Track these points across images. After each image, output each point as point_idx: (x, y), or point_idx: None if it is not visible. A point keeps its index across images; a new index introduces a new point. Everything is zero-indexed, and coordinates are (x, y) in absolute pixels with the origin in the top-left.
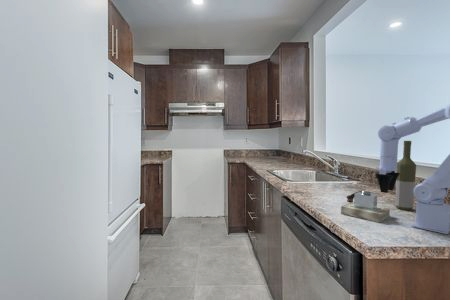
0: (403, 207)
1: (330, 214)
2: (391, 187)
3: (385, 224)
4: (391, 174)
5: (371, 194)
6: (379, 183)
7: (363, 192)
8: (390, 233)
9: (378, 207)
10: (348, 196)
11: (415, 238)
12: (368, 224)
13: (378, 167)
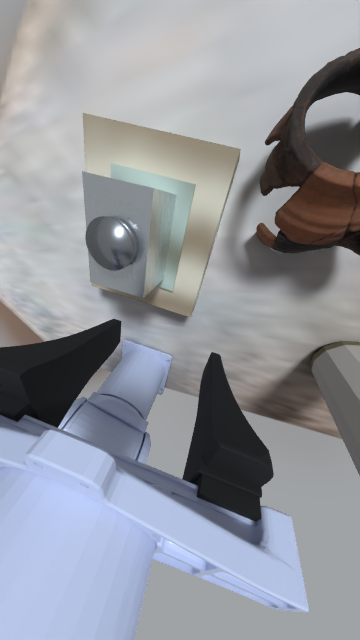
0: (313, 360)
1: (59, 79)
2: (203, 378)
3: (100, 289)
4: (193, 463)
5: (133, 271)
6: (72, 336)
7: (88, 231)
8: (48, 294)
9: (168, 283)
10: (310, 79)
11: (60, 329)
12: (65, 249)
13: (27, 464)
